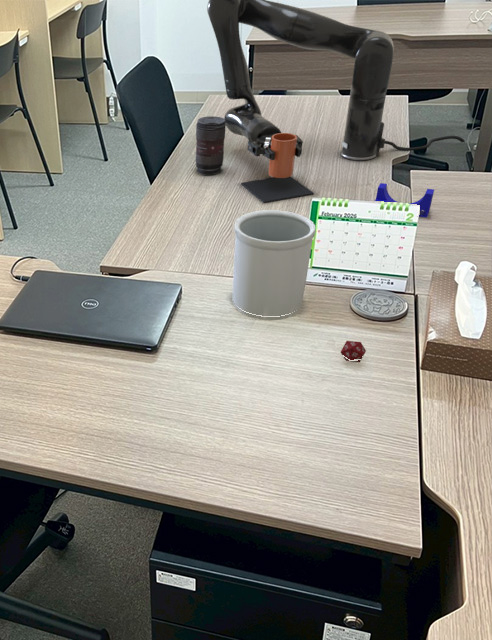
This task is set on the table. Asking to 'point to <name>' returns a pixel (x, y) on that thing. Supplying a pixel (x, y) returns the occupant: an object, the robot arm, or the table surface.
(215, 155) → the camera lens
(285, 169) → the cup
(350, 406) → the table surface
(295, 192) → the desk mat
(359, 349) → the dice
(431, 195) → the blue cradle bracket
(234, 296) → the utensil holder
